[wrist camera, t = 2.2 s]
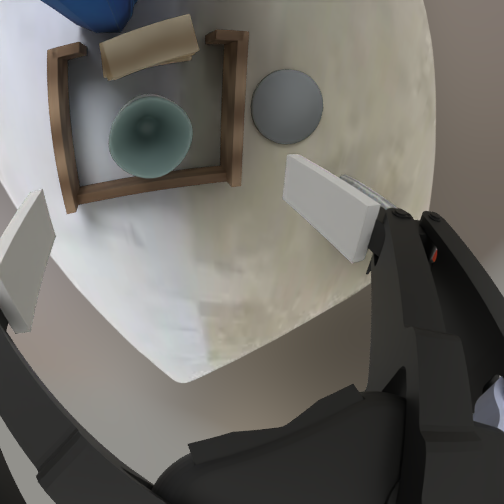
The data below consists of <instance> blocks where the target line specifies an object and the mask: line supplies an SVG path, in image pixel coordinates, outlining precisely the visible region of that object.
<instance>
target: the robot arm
mask: <svg viewBox="0 0 504 504" xmlns="http://www.w3.org/2000/svg"><path fill="white" fill-rule="evenodd" d="M283 200H285V201H286V202H287V203H288V204H289V205H290V206H291V207H292V208H293V209H295V210H296V211H297V212H298V213H299V214H300V215H301V216H302V217H303V218H304V219H306V220H307V221H308V222H309V223H310V224H311V225H312V226H313V227H314V228H315V229H316V230H317V231H318V232H320V233H321V234H322V235H323V236H324V237H325V238H326V239H327V240H328V241H329V242H330V243H331V244H332V245H333V246H334V247H335V248H336V249H337V250H338V251H339V252H341V253H342V254H343V255H344V256H345V257H346V258H347V259H348V260H349V261H350V262H351V263H355V262H359V261H362V260H364V259H365V256H366V253H367V250H368V248H369V249H370V250H371V251H372V252H373V255H372V258H371V261H370V264H369V267H368V270H367V273H366V274H369V272H370V271H371V284H372V315H371V316H372V317H371V347H370V364H369V377H368V384H367V387H366V390H365V392H359V391H358V390H357V389H356V387H355V386H354V384H352V385H350V386H348V387H345V388H343V389H341V390H339V391H337V392H335V393H333V394H331V395H329V396H327V397H324V398H322V399H320V400H318V401H317V402H316V403H315V404H313V405H312V406H311V407H310V408H308V409H307V410H306V411H304V412H303V413H302V414H301V415H299V416H298V417H297V418H295V419H294V420H292V421H291V422H290V423H288V424H287V425H285V426H283V427H279V428H271V429H262V430H252V431H239V432H231V433H228V434H224V435H221V436H217V437H214V438H210V439H206V440H202V441H198V442H194V443H190V444H188V446H189V449H190V452H191V453H189V454H187V455H185V456H184V457H182V458H180V459H179V460H177V461H176V462H175V463H173V464H172V465H171V466H170V467H168V468H167V469H166V470H165V471H164V472H163V473H162V475H161V476H160V477H159V478H158V480H157V481H156V483H155V484H154V485H153V484H152V483H151V482H149V481H148V480H146V479H145V478H143V477H142V476H141V475H139V474H138V473H136V472H135V471H134V470H132V469H130V468H129V467H128V466H127V465H125V464H124V463H123V462H121V461H120V460H119V459H118V458H117V457H115V456H114V455H113V454H112V453H111V452H110V451H108V450H107V449H106V448H105V447H104V446H103V445H102V444H100V443H99V442H98V441H97V440H96V439H95V438H94V437H93V436H92V435H91V434H90V433H88V432H87V431H86V429H84V428H83V427H82V426H81V425H80V424H79V423H78V422H77V421H76V420H75V419H74V417H73V416H72V415H71V414H70V413H69V412H68V411H67V410H66V409H65V408H64V407H63V406H62V404H61V403H59V401H58V400H57V399H56V398H55V397H54V395H53V394H52V393H51V392H50V391H49V390H48V388H47V387H46V386H45V385H44V383H43V382H42V381H41V380H40V378H39V377H38V376H37V375H36V373H35V372H34V371H33V369H32V368H31V366H30V365H29V364H28V362H27V361H26V360H25V358H24V357H23V355H22V354H21V353H20V351H19V350H18V348H17V347H16V345H15V344H14V342H13V341H12V339H11V337H10V336H9V335H8V333H7V332H6V329H7V326H8V323H9V325H10V326H11V328H12V329H13V331H14V332H15V334H18V333H25V332H31V328H32V323H33V317H34V313H35V308H36V303H37V299H38V295H39V291H40V287H41V283H42V279H43V276H44V272H45V268H46V265H47V262H48V258H49V255H50V252H51V249H52V246H53V243H54V240H55V237H56V235H55V232H54V229H53V226H52V222H51V219H50V215H49V212H48V208H47V204H46V200H45V196H44V192H43V189H40V190H36V191H33V192H30V193H29V195H28V196H27V197H26V199H25V200H24V202H23V203H22V205H21V206H20V208H19V209H18V211H17V212H16V214H15V215H14V217H13V218H12V220H11V221H10V223H9V225H8V226H7V228H6V230H5V231H4V233H3V235H2V236H1V238H0V416H1V417H2V419H3V421H4V422H5V424H6V425H7V427H8V429H9V430H10V432H11V433H12V435H13V436H14V438H15V439H16V441H17V442H18V444H19V445H20V447H21V448H22V449H23V451H24V452H25V454H26V455H27V456H28V458H29V459H30V460H31V462H32V463H33V464H34V466H35V467H36V468H37V470H38V474H37V476H36V478H37V480H38V482H39V484H40V485H41V487H42V488H43V489H44V491H45V492H46V493H47V494H48V495H49V496H50V497H51V499H52V500H53V501H54V502H55V503H56V504H504V297H503V296H502V294H501V293H500V291H499V290H498V288H497V287H496V285H495V284H494V282H493V281H492V279H491V278H490V276H489V275H488V274H487V272H486V271H485V269H484V268H483V267H482V265H481V264H480V263H479V261H478V260H477V259H476V257H475V256H474V255H473V253H472V252H471V251H470V249H469V248H468V247H467V246H466V244H465V243H464V242H463V241H462V239H461V238H460V237H459V236H458V235H457V233H456V232H455V231H454V230H453V229H452V227H451V226H450V225H449V224H448V223H447V222H446V220H445V219H443V218H442V217H441V216H440V215H439V214H437V213H435V212H429V211H424V212H423V213H422V216H421V219H420V221H419V220H414V219H413V217H412V216H411V215H410V214H409V213H407V212H406V211H404V210H402V209H399V208H388V209H387V210H386V209H384V208H383V207H381V206H380V204H379V203H377V202H376V201H374V200H373V199H371V198H370V197H368V196H367V195H365V194H364V193H362V192H361V191H359V190H358V189H356V188H355V187H353V186H352V185H350V184H348V183H347V182H345V181H344V180H342V179H340V178H339V177H337V176H335V175H334V174H332V173H331V172H329V171H327V170H325V169H324V168H322V167H320V166H319V165H317V164H315V163H314V162H312V161H310V160H308V159H307V158H305V157H303V156H301V155H299V154H288V155H287V161H286V171H285V180H284V190H283ZM436 249H437V257H436V259H435V262H434V261H433V260H432V258H433V256H434V253H435V251H436ZM499 375H500V376H501V377H500V378H499ZM0 504H26V502H25V500H24V498H23V496H22V495H21V493H20V491H19V489H18V487H17V485H16V483H15V481H14V479H13V477H12V475H11V472H10V470H9V468H8V465H7V463H6V461H5V459H4V456H3V454H2V451H1V449H0Z"/></svg>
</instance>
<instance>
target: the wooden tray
mask: <svg viewBox="0 0 504 504" xmlns="http://www.w3.org/2000/svg"><path fill="white" fill-rule="evenodd" d="M248 41H249V32H247V31H235V30H215V31H213V32H211V33H209V34H207V35H205V44H223V45H224V59H223V81H222V109H221V148H220V166H210V167H201V168H192V169H183V170H176V171H171V172H169V173H168V174H166V175H163V176H161V177H157V178H141V177H137V176H135V177H129V178H123V179H118V180H112V181H107V182H102V183H96V184H92V185H87V186H82V187H80V184H79V178H78V172H77V167H76V160H75V154H74V146H73V139H72V130H71V120H70V108H69V92H68V60H70V59H74V58H79V57H83V56H87V46H85V45H84V44H82V43H81V42H76V43H72V44H68V45H64V46H60V47H56V48H53V49H49V50H47V85H48V103H49V115H50V125H51V133H52V141H53V148H54V154H55V160H56V166H57V171H58V177H59V182H60V186H61V191H62V195H63V200H64V204H65V208H66V212H67V214H70V213H74V212H76V211H77V208H78V205H80V204H85V203H90V202H95V201H100V200H105V199H110V198H116V197H121V196H127V195H132V194H138V193H144V192H150V191H157V190H163V189H170V188H177V187H184V186H192V185H199V184H207V183H216V182H225V181H227V182H228V183H229V184H230V186H231V187H236V186H241V175H242V152H243V131H244V111H245V92H246V74H247V57H248Z"/></svg>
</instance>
